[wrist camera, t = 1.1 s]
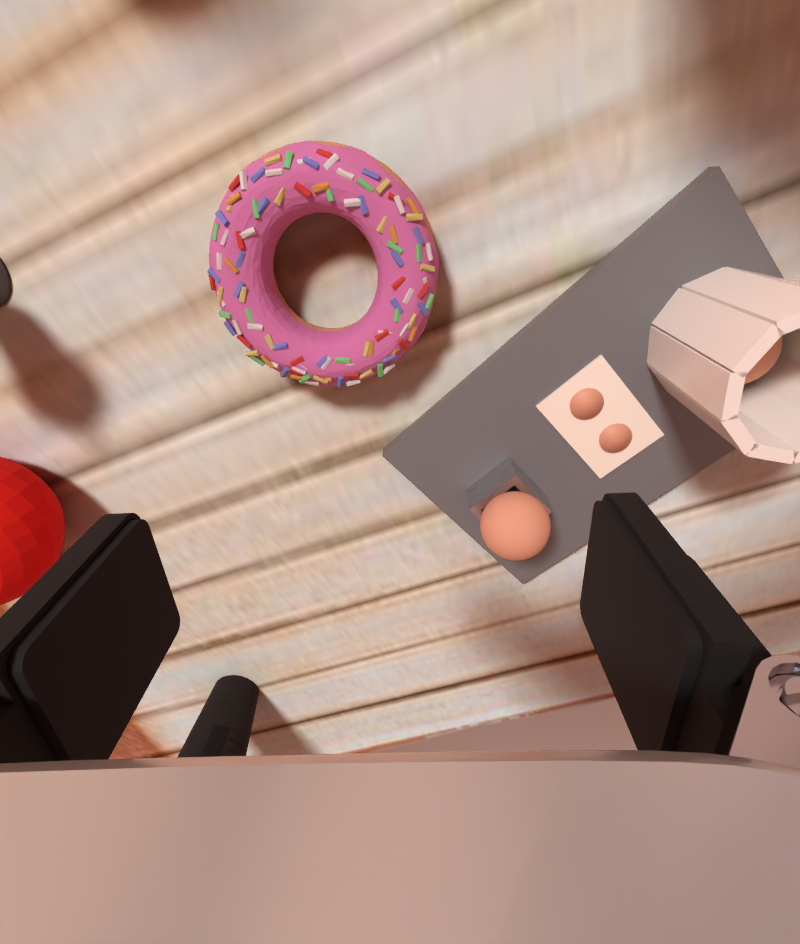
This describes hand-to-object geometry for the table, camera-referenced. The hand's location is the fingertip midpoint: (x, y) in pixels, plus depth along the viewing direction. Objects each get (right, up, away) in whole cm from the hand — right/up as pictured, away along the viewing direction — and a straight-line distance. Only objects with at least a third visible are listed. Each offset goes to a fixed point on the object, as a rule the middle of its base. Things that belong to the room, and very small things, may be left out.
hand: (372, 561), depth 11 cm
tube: (+22, +11, +24) cm, 34 cm away
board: (+16, +6, +28) cm, 33 cm away
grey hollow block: (+9, 0, +30) cm, 32 cm away
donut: (-4, +16, +24) cm, 29 cm away
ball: (+9, -2, +26) cm, 28 cm away
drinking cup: (-18, -22, +45) cm, 54 cm away
